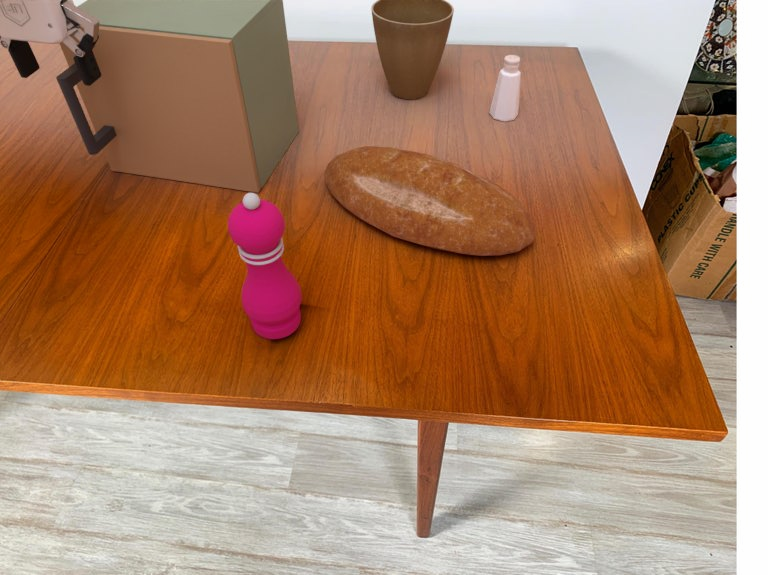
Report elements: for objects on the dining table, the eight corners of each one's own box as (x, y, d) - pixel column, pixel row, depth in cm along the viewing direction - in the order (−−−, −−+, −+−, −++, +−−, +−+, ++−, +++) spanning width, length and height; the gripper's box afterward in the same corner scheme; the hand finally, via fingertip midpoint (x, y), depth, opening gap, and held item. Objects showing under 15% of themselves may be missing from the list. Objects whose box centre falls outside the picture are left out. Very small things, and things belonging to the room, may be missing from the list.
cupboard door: (243, 215, 89) (208, 62, 71) (91, 191, 93) (23, 41, 76) (260, 189, 93) (231, 39, 76) (114, 167, 98) (55, 21, 80)
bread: (503, 289, 78) (513, 239, 71) (296, 202, 91) (289, 154, 85) (552, 219, 88) (564, 169, 82) (359, 150, 101) (357, 103, 95)
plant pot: (441, 113, 110) (447, 27, 98) (364, 104, 112) (362, 20, 101) (452, 77, 120) (459, -5, 109) (382, 70, 122) (381, -11, 111)
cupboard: (261, 189, 94) (232, 37, 76) (115, 167, 98) (56, 19, 81) (299, 131, 106) (281, -11, 88) (167, 114, 110) (126, -25, 93)
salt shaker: (517, 108, 111) (527, 51, 103) (518, 122, 107) (529, 65, 99) (488, 106, 112) (496, 50, 104) (489, 121, 108) (497, 63, 100)
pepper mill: (301, 343, 72) (280, 216, 57) (243, 342, 72) (207, 216, 57) (307, 300, 77) (289, 174, 62) (253, 299, 77) (222, 173, 62)
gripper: (-87, -59, 66) (-11, 83, 78) (46, -48, 63) (102, 97, 75) (-39, -78, 71) (25, 58, 83) (86, -69, 68) (133, 71, 80)
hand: (62, 77), depth 79 cm, fingers open, 9 cm apart
